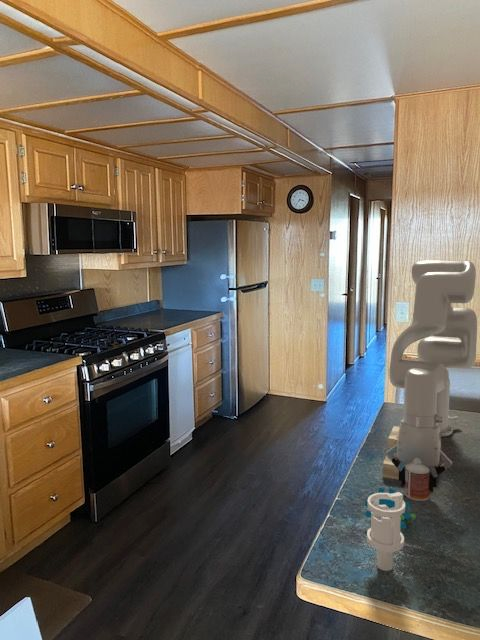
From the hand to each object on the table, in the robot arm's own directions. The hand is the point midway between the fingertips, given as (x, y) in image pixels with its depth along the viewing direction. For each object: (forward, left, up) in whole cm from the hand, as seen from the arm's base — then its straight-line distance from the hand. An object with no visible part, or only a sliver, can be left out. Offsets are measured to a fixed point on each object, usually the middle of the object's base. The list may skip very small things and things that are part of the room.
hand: (417, 485), depth 123 cm
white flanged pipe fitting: (+23, +19, -3) cm, 31 cm away
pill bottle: (0, 0, -3) cm, 3 cm away
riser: (-9, -14, -3) cm, 16 cm away
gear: (+14, +8, -3) cm, 17 cm away
